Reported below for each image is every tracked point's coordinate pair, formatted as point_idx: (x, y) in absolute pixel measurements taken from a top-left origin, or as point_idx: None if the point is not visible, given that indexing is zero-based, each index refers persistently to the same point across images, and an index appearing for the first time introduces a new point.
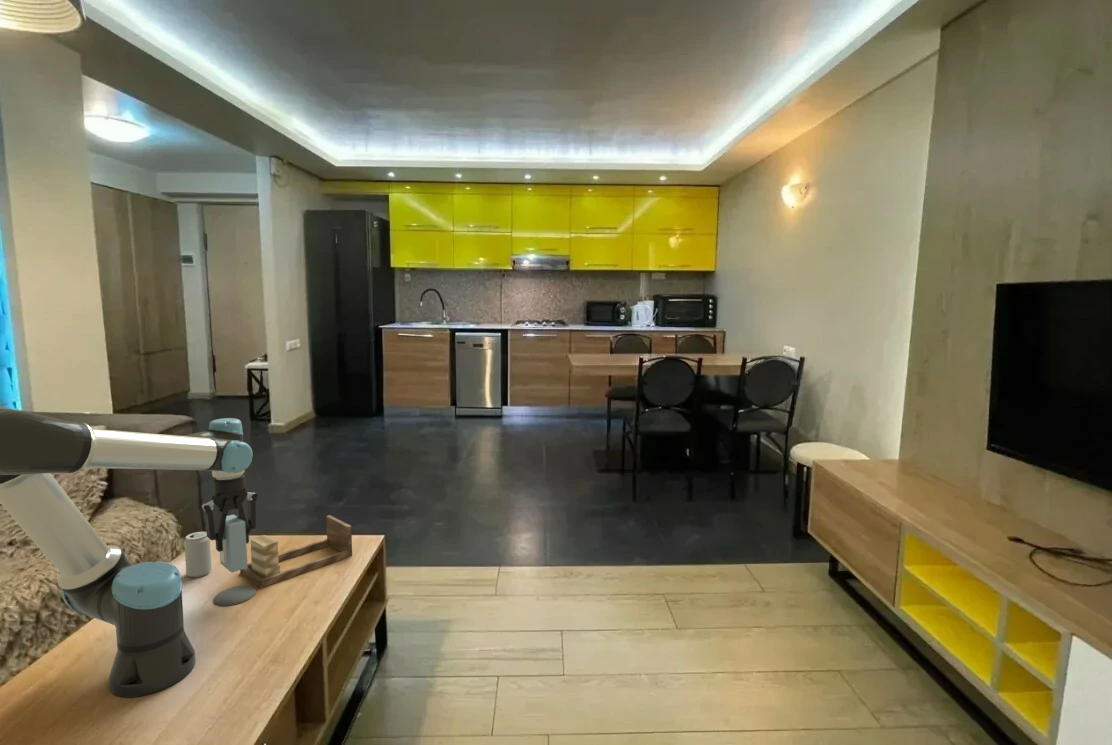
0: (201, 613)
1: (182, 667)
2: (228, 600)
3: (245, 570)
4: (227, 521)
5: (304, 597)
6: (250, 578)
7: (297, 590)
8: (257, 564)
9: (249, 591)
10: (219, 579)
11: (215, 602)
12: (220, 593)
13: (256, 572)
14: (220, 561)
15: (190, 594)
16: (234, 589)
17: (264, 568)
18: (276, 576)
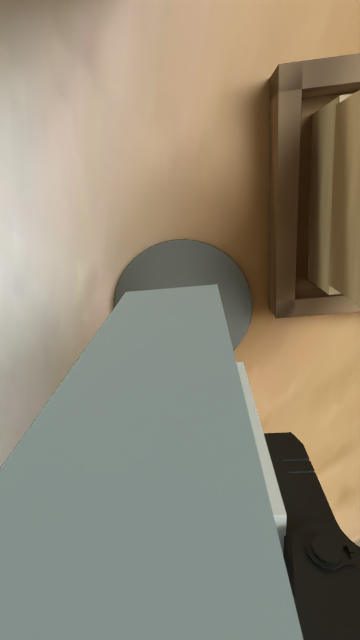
0: (72, 351)
1: None
2: None
3: (278, 152)
4: None
5: (339, 454)
6: (272, 216)
7: (350, 405)
8: (332, 196)
9: (230, 319)
10: (171, 89)
11: None
12: (143, 262)
13: (316, 174)
14: (123, 296)
15: (47, 169)
16: (193, 265)
17: (330, 282)
18: (346, 311)
